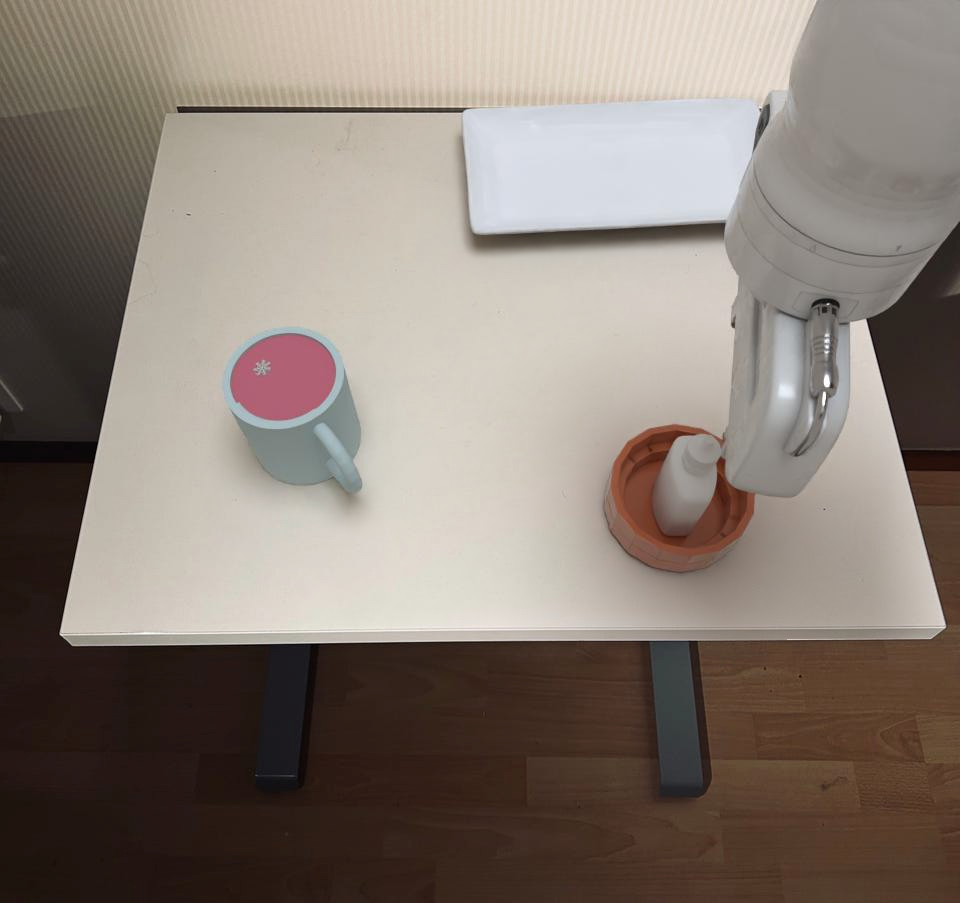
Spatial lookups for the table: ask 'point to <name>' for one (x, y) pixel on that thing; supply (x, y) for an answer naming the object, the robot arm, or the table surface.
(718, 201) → the tray
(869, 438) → the table surface
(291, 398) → the mug
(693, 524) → the eye dropper bottle
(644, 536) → the bowl
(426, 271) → the table surface
